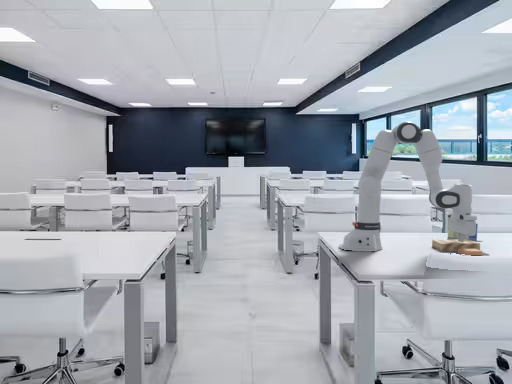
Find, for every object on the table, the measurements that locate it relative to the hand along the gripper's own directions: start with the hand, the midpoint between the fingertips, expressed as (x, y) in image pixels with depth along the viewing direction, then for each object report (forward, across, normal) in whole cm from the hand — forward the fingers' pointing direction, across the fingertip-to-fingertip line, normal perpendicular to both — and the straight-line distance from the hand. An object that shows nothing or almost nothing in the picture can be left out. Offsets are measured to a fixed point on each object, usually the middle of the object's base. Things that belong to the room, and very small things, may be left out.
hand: (461, 241), depth 215 cm
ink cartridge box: (+5, -18, +13) cm, 23 cm away
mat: (+5, +5, 0) cm, 7 cm away
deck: (+5, -6, 0) cm, 7 cm away
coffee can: (+5, -35, +16) cm, 39 cm away
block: (+3, +8, 0) cm, 9 cm away
